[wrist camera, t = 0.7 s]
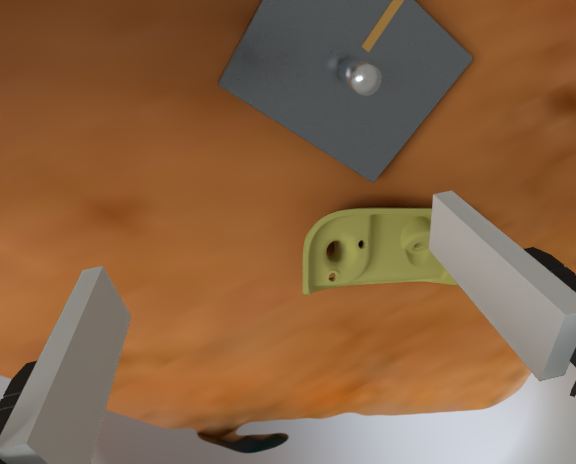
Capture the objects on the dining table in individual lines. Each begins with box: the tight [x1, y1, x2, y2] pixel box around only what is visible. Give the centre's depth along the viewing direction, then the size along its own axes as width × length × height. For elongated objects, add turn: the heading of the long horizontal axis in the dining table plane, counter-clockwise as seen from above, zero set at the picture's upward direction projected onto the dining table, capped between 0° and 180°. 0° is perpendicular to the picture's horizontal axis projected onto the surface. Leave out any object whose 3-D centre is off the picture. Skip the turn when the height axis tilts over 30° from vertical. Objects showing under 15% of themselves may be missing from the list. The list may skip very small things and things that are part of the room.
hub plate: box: [218, 0, 473, 183], centre depth 30 cm, size 18×15×6 cm
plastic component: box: [303, 208, 458, 295], centre depth 42 cm, size 20×7×10 cm
